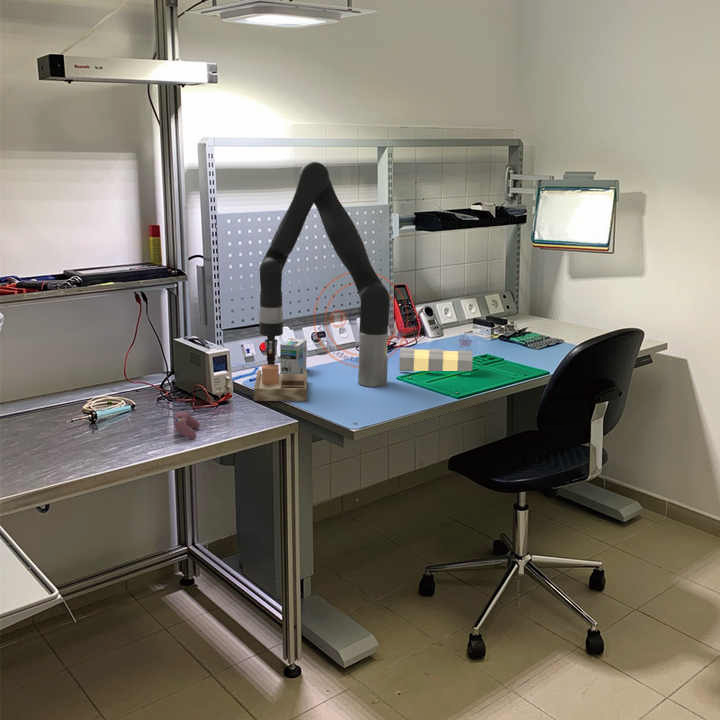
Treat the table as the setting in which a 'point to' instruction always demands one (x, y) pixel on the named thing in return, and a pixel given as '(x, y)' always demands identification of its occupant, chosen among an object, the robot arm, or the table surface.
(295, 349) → the light bulb box
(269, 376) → the block
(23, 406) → the table surface
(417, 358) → the gray yellow striped block
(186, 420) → the video game controller
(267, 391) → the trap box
